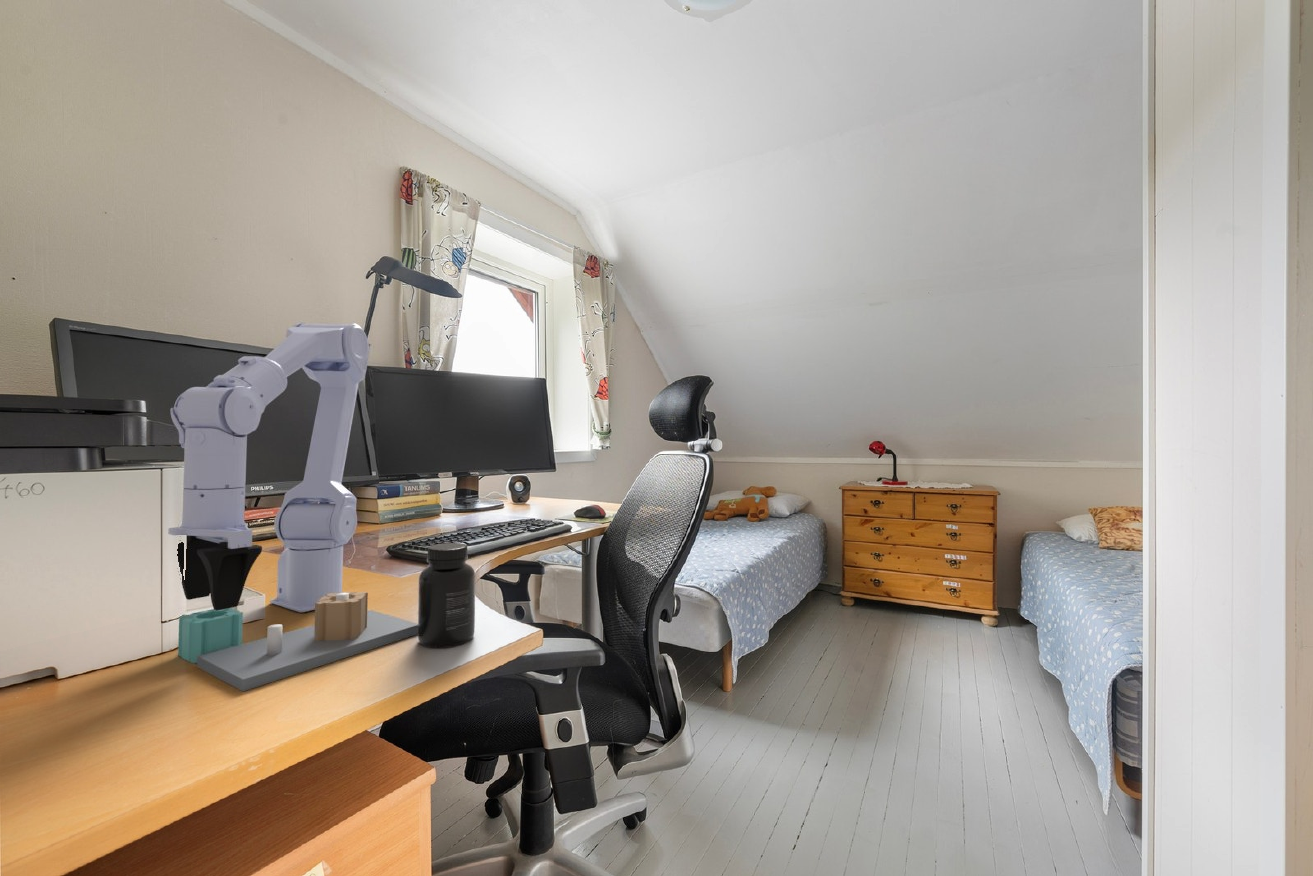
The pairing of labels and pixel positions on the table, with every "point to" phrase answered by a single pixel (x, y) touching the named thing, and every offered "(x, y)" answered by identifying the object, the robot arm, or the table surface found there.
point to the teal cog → (209, 632)
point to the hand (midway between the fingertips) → (211, 602)
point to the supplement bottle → (446, 597)
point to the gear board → (308, 643)
